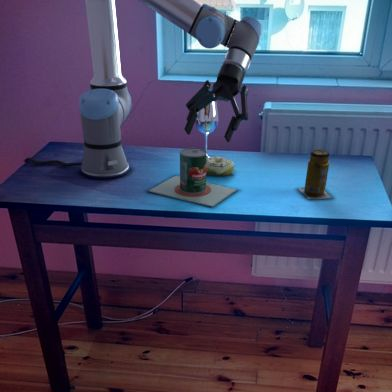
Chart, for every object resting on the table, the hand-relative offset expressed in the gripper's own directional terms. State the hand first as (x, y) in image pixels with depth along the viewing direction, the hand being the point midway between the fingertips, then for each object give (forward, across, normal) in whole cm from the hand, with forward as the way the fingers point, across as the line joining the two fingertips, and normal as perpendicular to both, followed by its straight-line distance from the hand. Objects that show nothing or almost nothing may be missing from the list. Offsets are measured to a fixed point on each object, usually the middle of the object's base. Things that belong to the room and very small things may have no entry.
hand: (206, 135), depth 157 cm
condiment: (+3, -32, -17) cm, 36 cm away
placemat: (+16, 0, -5) cm, 16 cm away
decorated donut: (+3, +2, -18) cm, 18 cm away
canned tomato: (+15, 0, -4) cm, 16 cm away
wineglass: (-3, +11, -23) cm, 26 cm away
